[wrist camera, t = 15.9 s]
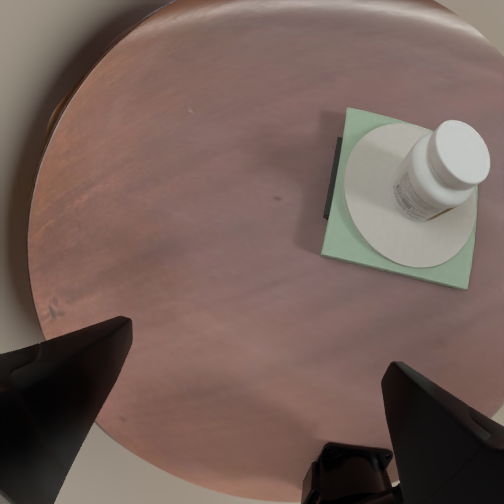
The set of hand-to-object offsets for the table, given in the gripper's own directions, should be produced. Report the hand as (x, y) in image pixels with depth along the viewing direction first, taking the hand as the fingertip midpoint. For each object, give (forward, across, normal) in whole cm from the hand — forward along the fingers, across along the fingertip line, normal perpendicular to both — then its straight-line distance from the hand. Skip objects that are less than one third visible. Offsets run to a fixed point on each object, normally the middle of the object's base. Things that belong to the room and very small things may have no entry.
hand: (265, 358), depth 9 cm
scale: (+14, -10, -6) cm, 18 cm away
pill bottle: (+12, -10, -7) cm, 16 cm away
